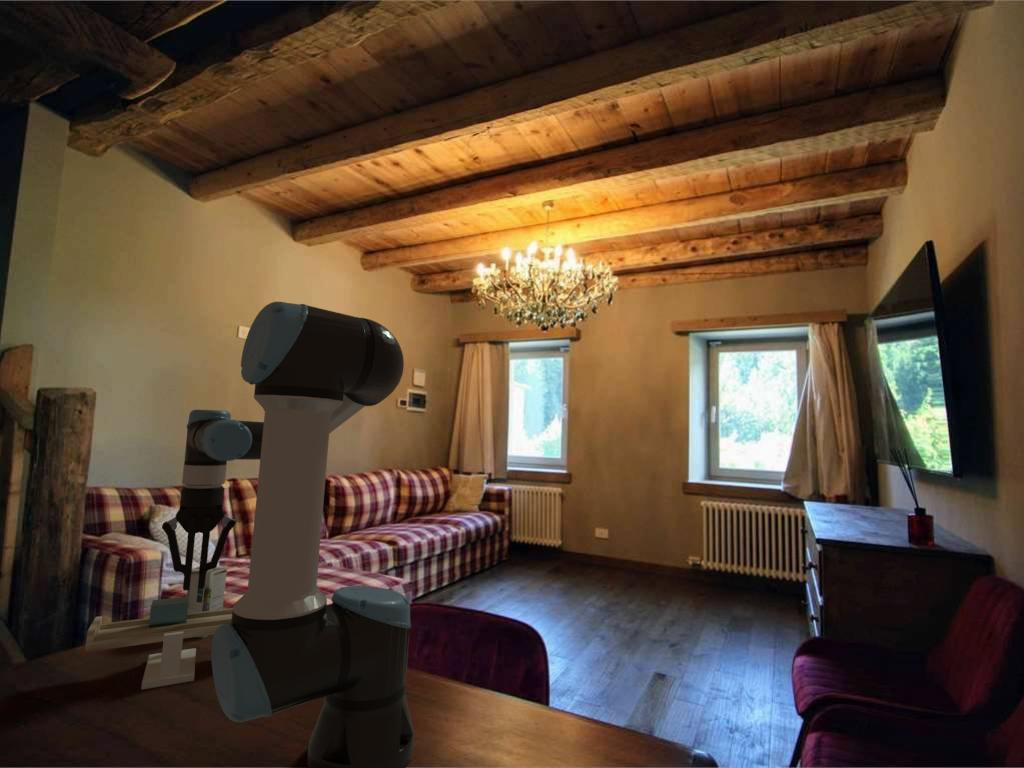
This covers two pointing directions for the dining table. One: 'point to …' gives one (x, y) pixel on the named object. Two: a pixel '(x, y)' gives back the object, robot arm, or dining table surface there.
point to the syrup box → (211, 591)
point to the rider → (168, 612)
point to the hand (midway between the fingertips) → (192, 606)
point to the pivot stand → (170, 663)
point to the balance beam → (151, 630)
